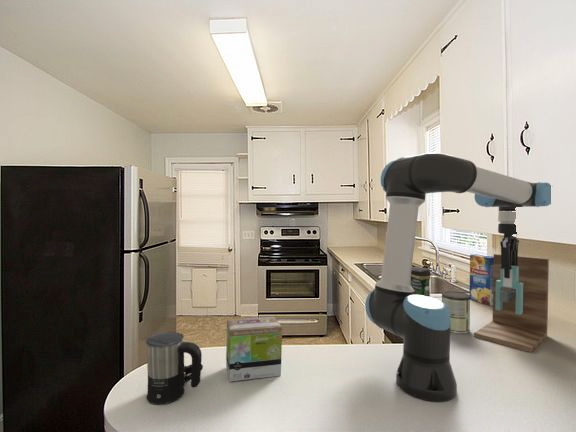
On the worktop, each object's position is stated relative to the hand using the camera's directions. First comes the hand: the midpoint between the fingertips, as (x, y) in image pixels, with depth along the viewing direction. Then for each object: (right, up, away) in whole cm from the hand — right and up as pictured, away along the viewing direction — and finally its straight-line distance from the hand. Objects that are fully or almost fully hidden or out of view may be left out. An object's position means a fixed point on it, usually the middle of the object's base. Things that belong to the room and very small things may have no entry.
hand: (509, 285), depth 123 cm
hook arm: (+2, -5, +2) cm, 6 cm away
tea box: (-93, -20, -26) cm, 98 cm away
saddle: (0, -10, 0) cm, 10 cm away
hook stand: (+2, -20, +2) cm, 20 cm away
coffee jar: (-15, -19, +45) cm, 52 cm away
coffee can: (-15, -20, +10) cm, 27 cm away
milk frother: (-113, -20, -34) cm, 119 cm away
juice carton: (+20, -19, +50) cm, 57 cm away
